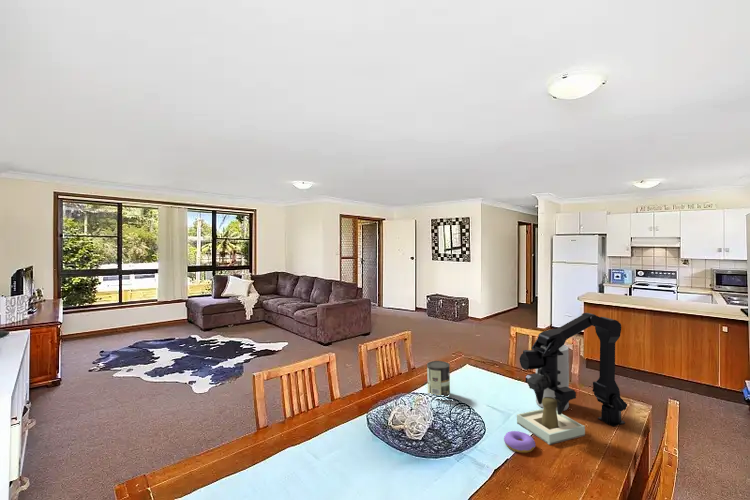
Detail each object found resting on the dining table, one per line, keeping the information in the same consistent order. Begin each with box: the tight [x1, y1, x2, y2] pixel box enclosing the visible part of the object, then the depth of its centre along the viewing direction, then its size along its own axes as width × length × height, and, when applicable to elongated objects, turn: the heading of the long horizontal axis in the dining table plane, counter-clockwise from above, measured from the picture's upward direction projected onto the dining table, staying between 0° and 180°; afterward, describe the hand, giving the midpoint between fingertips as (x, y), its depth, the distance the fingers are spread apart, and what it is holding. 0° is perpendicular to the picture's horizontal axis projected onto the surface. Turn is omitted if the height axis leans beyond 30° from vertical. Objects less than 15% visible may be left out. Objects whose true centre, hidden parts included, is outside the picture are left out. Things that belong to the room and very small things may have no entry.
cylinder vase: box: [535, 344, 570, 412], centre depth 155 cm, size 12×12×25 cm
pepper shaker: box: [541, 397, 559, 430], centre depth 136 cm, size 6×6×11 cm
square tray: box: [516, 408, 586, 446], centre depth 136 cm, size 16×16×4 cm
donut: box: [503, 430, 536, 454], centre depth 126 cm, size 10×9×5 cm
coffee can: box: [426, 360, 451, 396], centre depth 168 cm, size 10×10×14 cm
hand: (549, 409), depth 136 cm, fingers open, 9 cm apart
